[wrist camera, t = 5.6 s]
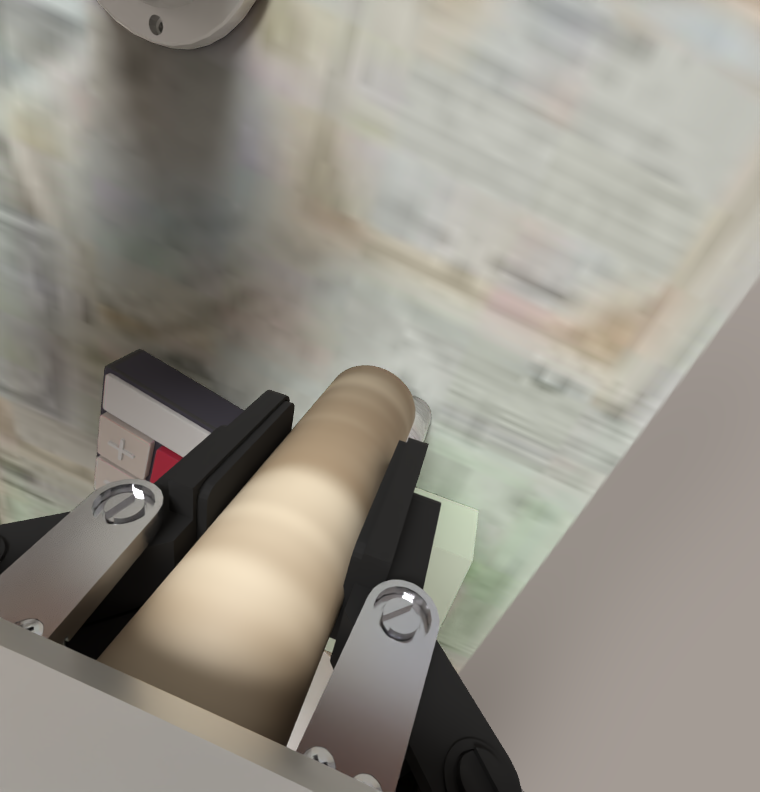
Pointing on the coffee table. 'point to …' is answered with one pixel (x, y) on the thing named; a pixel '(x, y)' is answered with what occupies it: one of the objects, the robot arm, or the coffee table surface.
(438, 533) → the peg block
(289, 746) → the teardrop
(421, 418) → the short pin
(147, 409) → the calculator
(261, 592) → the long pin
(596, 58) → the coffee table surface
